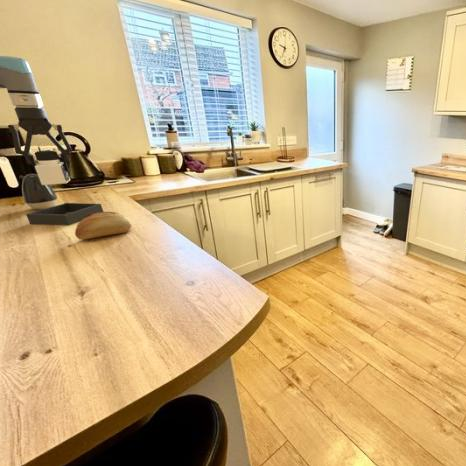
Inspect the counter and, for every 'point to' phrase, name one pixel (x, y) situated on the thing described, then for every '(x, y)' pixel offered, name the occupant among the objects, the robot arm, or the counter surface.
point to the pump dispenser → (37, 193)
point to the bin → (55, 213)
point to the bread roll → (101, 225)
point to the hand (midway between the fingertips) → (52, 171)
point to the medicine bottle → (50, 168)
